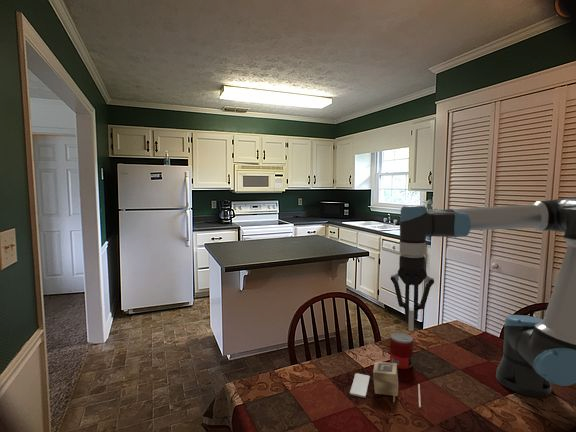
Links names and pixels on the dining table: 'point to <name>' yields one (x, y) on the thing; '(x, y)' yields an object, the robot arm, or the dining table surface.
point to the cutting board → (362, 383)
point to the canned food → (401, 350)
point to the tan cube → (385, 378)
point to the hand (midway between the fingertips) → (411, 329)
